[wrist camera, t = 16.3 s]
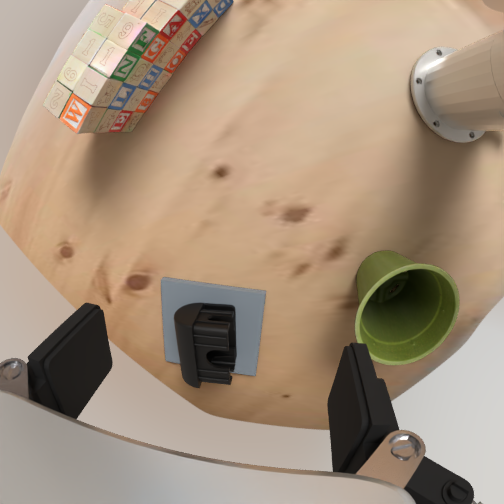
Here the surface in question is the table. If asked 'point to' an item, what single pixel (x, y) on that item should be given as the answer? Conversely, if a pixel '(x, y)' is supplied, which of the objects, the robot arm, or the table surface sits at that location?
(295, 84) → the table surface
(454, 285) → the plant pot
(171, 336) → the slate mat
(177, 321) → the end cap
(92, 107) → the stack of blocks
